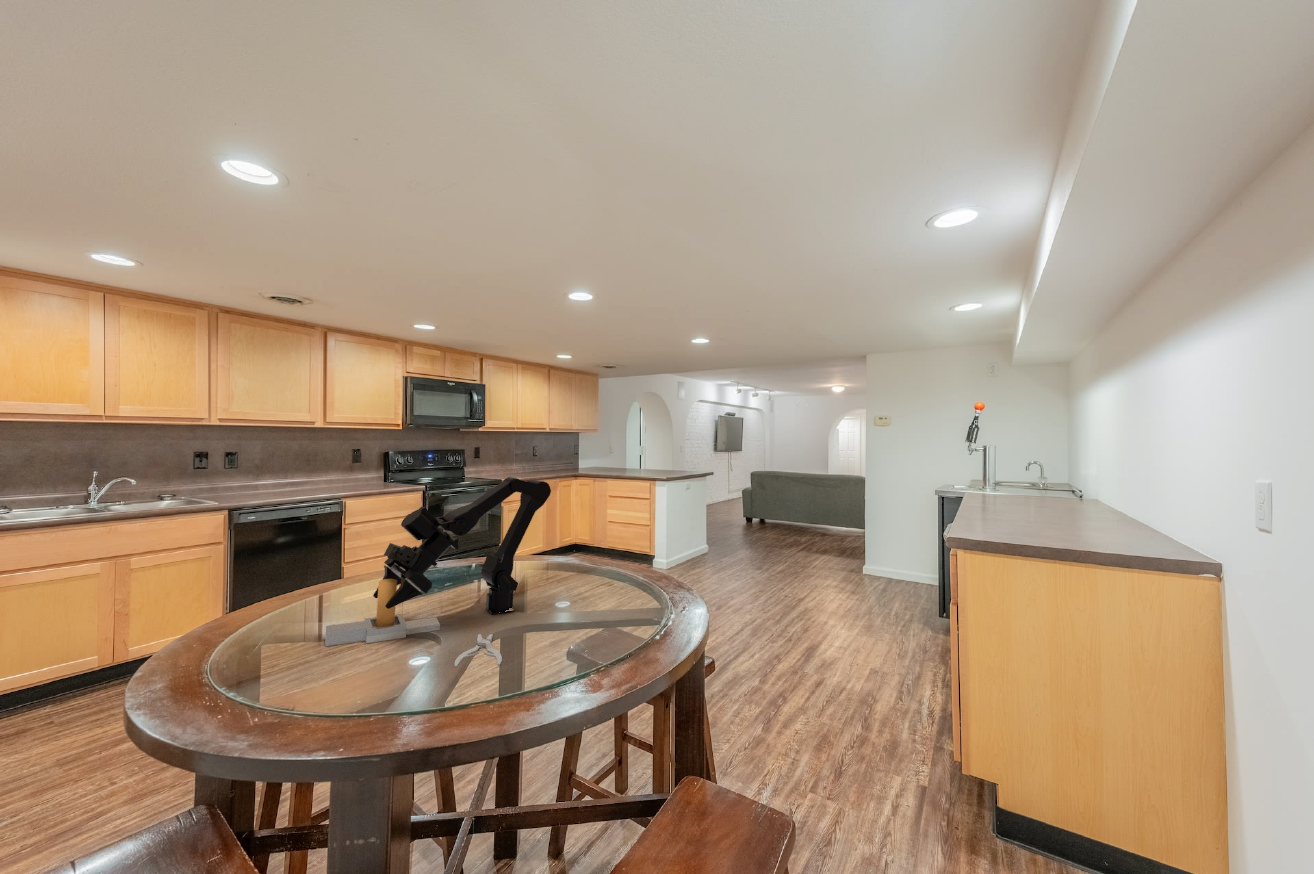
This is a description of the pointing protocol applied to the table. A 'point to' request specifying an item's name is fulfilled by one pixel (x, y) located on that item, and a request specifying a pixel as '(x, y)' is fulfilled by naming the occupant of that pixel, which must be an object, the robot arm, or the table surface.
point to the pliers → (483, 644)
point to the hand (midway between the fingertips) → (380, 602)
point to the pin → (385, 602)
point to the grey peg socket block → (377, 630)
